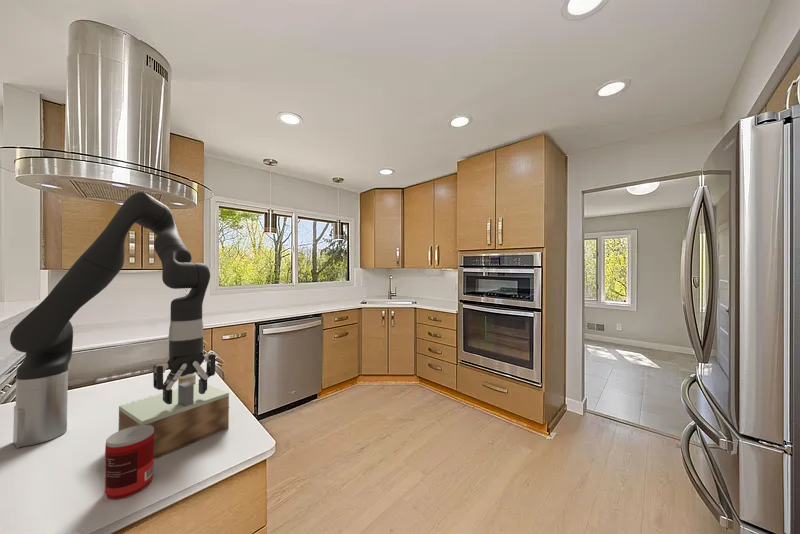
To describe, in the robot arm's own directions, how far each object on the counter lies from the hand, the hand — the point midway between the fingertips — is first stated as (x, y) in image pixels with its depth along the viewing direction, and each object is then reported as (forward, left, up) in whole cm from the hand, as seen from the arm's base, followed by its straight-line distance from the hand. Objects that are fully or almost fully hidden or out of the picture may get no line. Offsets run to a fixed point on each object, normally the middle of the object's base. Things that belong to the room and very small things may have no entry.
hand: (186, 398), depth 80 cm
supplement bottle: (+15, +37, -12) cm, 41 cm away
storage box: (0, +6, -11) cm, 13 cm away
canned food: (-14, -9, -12) cm, 21 cm away
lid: (0, +6, -2) cm, 6 cm away
